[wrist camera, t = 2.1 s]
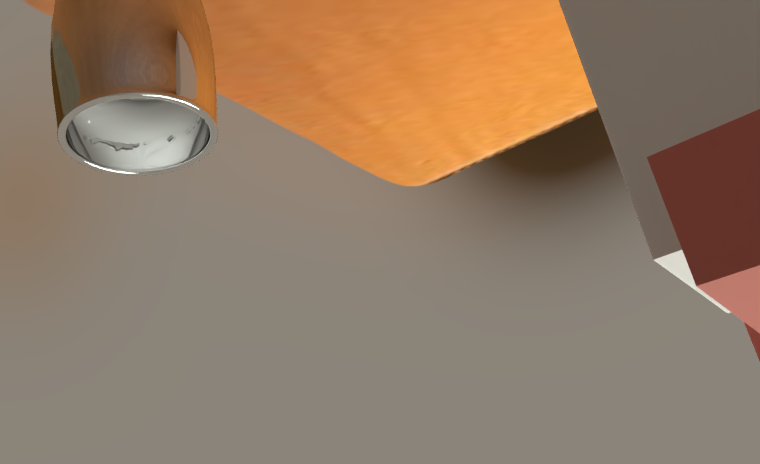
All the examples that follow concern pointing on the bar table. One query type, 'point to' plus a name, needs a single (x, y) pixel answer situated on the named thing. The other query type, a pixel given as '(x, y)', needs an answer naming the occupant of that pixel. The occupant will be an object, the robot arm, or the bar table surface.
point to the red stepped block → (718, 212)
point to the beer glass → (133, 84)
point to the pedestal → (665, 87)
